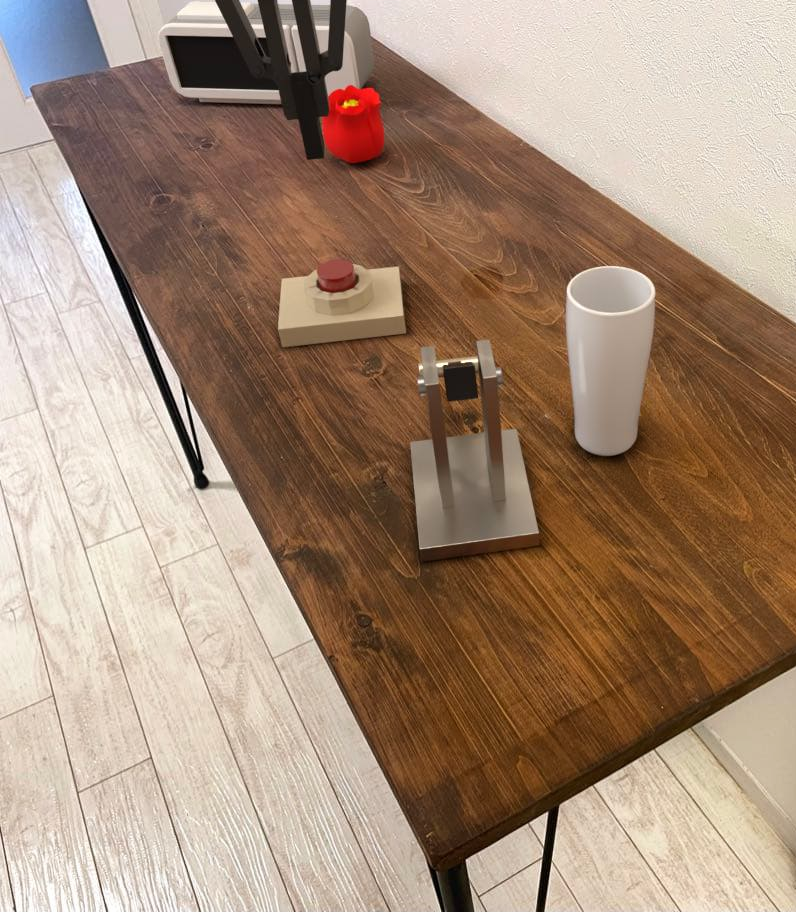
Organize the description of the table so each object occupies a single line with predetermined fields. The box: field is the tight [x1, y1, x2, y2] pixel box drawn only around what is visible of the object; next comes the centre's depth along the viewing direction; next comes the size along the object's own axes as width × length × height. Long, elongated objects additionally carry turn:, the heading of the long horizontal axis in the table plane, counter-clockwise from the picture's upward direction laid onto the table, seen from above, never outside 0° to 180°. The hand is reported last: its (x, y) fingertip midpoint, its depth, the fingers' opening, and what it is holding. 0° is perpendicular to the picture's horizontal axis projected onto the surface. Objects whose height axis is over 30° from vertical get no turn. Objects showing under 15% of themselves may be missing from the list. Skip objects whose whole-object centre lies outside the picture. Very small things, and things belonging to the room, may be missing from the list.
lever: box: [417, 355, 479, 403], centre depth 71 cm, size 14×6×2 cm
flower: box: [321, 85, 385, 164], centre depth 116 cm, size 8×8×8 cm
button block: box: [277, 263, 407, 348], centre depth 92 cm, size 12×9×4 cm
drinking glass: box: [565, 265, 656, 457], centre depth 74 cm, size 7×7×15 cm
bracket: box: [409, 338, 541, 563], centre depth 69 cm, size 12×9×14 cm
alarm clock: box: [157, 0, 376, 105], centre depth 130 cm, size 27×9×12 cm, turn 83°
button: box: [316, 258, 357, 293], centre depth 90 cm, size 4×4×2 cm
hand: (315, 151), depth 81 cm, fingers closed
